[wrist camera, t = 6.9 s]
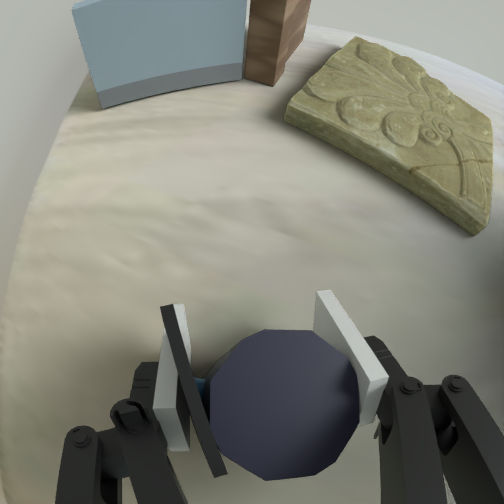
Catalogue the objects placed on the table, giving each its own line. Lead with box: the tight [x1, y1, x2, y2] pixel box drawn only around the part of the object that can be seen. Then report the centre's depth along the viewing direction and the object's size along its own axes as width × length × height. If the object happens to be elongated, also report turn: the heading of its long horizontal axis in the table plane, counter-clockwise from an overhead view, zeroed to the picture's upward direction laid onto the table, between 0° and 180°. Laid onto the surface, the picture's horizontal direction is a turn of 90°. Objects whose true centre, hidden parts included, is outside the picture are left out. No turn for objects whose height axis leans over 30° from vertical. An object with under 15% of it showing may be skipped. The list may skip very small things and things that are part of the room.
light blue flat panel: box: [72, 0, 247, 109], centre depth 22 cm, size 13×2×11 cm, turn 107°
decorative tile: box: [284, 36, 493, 236], centre depth 27 cm, size 19×20×4 cm
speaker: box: [160, 304, 360, 481], centre depth 13 cm, size 8×6×10 cm
